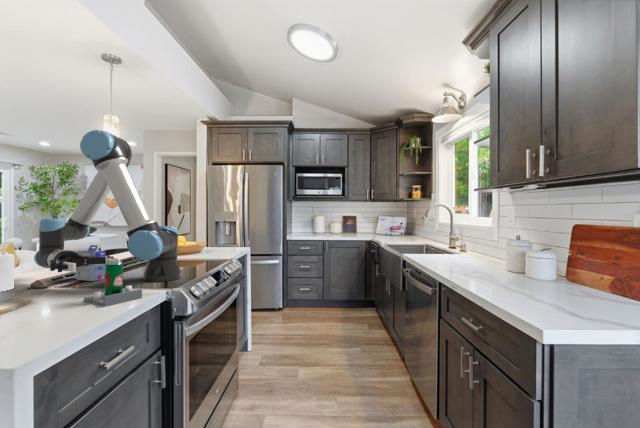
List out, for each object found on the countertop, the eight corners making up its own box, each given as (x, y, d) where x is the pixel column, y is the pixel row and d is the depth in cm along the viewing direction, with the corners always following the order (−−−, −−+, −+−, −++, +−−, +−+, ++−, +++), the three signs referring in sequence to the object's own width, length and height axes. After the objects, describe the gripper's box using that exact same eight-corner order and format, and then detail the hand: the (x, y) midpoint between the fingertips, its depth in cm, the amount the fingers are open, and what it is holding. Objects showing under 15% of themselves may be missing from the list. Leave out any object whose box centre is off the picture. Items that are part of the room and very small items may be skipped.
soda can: (116, 298, 105) (117, 261, 105) (100, 298, 105) (101, 261, 105) (125, 294, 110) (126, 259, 110) (110, 294, 110) (111, 259, 110)
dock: (120, 293, 115) (120, 283, 115) (141, 298, 110) (142, 287, 110) (83, 300, 105) (83, 290, 105) (104, 306, 99) (105, 295, 99)
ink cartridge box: (105, 279, 138) (106, 245, 138) (94, 281, 133) (95, 246, 133) (86, 277, 140) (87, 244, 140) (74, 280, 135) (75, 245, 135)
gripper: (99, 265, 133) (131, 270, 123) (22, 275, 110) (53, 282, 101) (99, 247, 133) (131, 250, 123) (22, 253, 110) (54, 258, 101)
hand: (96, 264), depth 112 cm, fingers open, 13 cm apart
